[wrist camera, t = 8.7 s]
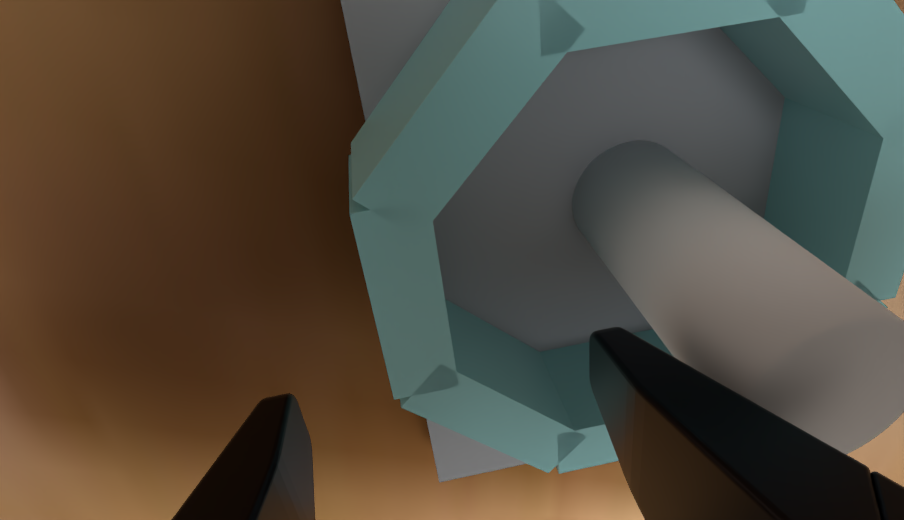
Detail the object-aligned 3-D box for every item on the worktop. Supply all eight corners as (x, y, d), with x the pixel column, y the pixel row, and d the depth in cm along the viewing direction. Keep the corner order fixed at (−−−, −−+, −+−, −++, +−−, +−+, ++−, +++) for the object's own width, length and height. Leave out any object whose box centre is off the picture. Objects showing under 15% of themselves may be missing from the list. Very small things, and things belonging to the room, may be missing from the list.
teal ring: (885, -112, 10) (1032, -119, 8) (786, 338, 15) (858, 408, 13) (307, -24, 9) (296, -5, 7) (408, 416, 14) (419, 503, 12)
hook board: (890, -294, 10) (1873, -666, 4) (758, 370, 18) (992, 629, 11) (299, -218, 9) (196, -516, 3) (432, 439, 17) (485, 755, 11)
